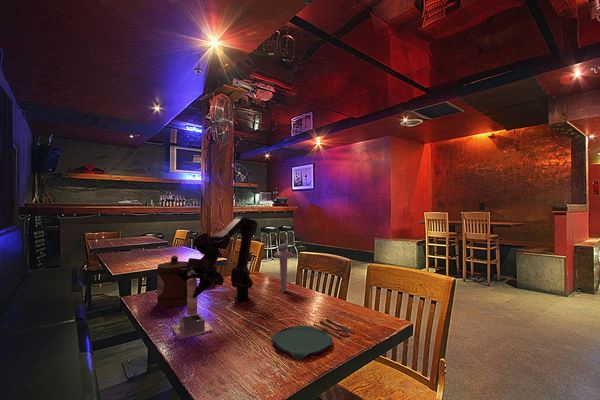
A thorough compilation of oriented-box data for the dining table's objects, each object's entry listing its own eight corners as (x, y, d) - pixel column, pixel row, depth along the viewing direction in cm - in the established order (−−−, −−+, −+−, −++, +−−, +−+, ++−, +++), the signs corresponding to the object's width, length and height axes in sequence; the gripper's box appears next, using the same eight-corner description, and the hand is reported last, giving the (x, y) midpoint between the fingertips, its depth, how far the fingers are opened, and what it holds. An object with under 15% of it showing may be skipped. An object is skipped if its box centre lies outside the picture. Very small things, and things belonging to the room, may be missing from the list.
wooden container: (160, 298, 142) (160, 254, 142) (192, 295, 146) (192, 252, 146) (154, 309, 128) (154, 259, 128) (189, 306, 132) (189, 258, 132)
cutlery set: (261, 341, 98) (261, 334, 98) (324, 320, 117) (324, 314, 117) (296, 368, 83) (296, 360, 83) (363, 339, 102) (363, 332, 102)
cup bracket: (171, 327, 109) (171, 317, 109) (203, 320, 116) (203, 310, 116) (178, 340, 99) (178, 328, 99) (213, 331, 106) (213, 320, 106)
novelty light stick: (287, 295, 146) (287, 246, 146) (270, 292, 151) (270, 245, 151) (296, 289, 155) (296, 243, 155) (280, 287, 160) (280, 242, 160)
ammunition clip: (231, 278, 179) (231, 259, 179) (233, 277, 180) (233, 258, 181) (241, 281, 172) (241, 261, 172) (243, 281, 173) (243, 261, 173)
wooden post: (188, 311, 109) (188, 278, 109) (198, 311, 110) (198, 278, 110) (185, 315, 106) (185, 281, 106) (195, 315, 106) (195, 281, 106)
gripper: (180, 248, 115) (157, 283, 104) (219, 250, 108) (199, 288, 98) (193, 263, 122) (174, 298, 112) (231, 267, 116) (214, 303, 105)
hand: (189, 296), depth 106 cm, fingers closed on wooden post, 3 cm apart
